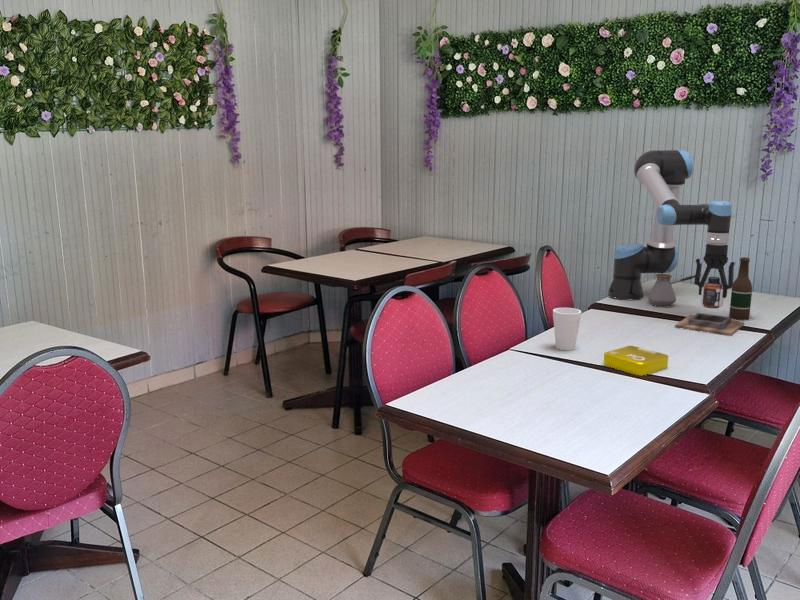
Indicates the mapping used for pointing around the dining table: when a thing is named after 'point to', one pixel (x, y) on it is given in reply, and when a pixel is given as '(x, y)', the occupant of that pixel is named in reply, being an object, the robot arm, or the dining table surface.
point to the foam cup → (566, 327)
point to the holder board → (710, 324)
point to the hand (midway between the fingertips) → (711, 304)
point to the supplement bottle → (712, 293)
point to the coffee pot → (664, 290)
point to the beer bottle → (741, 293)
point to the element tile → (635, 360)
